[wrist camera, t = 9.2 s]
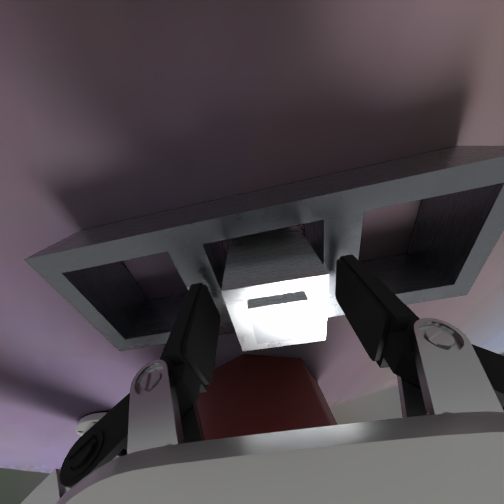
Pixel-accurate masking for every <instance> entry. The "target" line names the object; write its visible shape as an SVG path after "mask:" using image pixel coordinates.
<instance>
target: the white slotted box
mask: <svg viewBox="0 0 504 504" xmlns="http://www.w3.org/2000/svg"><path fill="white" fill-rule="evenodd" d="M328 290H329V273H328V271H327V270H326V268H325V267H324V265H323V264H322V262H321V261H320V259H319V258H318V256H317V254H316V253H315V251H314V250H313V248H312V247H311V245H310V244H309V242H308V241H307V239H306V238H305V236H304V235H303V233H302V232H301V230H300V228H299V227H298V225H294V226H290V227H285V228H280V229H275V230H270V231H265V232H260V233H255V234H251V235H246V236H241V237H236V238H231V239H230V242H229V247H228V253H227V259H226V265H225V271H224V277H223V283H222V289H221V292H222V295H223V298H224V301H225V304H226V306H227V309H228V312H229V315H230V317H231V320H232V323H233V326H234V328H235V331H236V334H237V337H238V340H239V342H240V345H241V348H242V351H250V350H257V349H265V348H272V347H279V346H287V345H294V344H302V343H309V342H317V341H324V340H326V327H327V309H328Z"/></svg>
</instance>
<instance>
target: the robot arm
mask: <svg viewBox="0 0 504 504" xmlns="http://www.w3.org/2000/svg"><path fill="white" fill-rule="evenodd" d="M335 297H336V300H337V302H338V304H339V306H340V307H341V309H342V311H343V312H344V314H345V316H346V318H347V319H348V321H349V323H350V324H351V326H352V328H353V329H354V331H355V333H356V335H357V336H358V338H359V340H360V341H361V343H362V345H363V347H364V348H365V350H366V352H367V353H368V355H369V357H370V358H371V359H372V360H373V361H376V362H377V364H378V365H379V367H380V368H384V367H390V368H391V370H392V372H393V373H394V374H396V375H397V380H398V387H399V394H400V402H401V409H402V417H403V418H396V419H388V420H379V421H369V422H360V423H351V424H342V425H333V426H324V427H315V428H307V429H298V430H289V431H281V432H272V433H263V434H255V435H247V436H238V437H230V438H222V439H213V440H205V436H204V432H203V428H202V424H201V420H200V416H199V412H198V408H197V403H196V401H197V400H198V396H199V393H202V392H207V390H208V384H211V382H212V376H213V369H214V362H215V355H216V348H217V341H218V334H219V327H220V314H219V312H218V310H217V308H216V305H215V303H214V301H213V299H212V297H211V294H210V292H209V290H208V288H207V286H206V284H204V285H203V283H196V284H192V285H191V286H190V289H189V291H188V294H187V296H186V299H185V301H184V304H183V307H182V309H181V310H180V311H179V313H178V315H177V318H176V320H175V323H174V325H173V328H172V330H171V333H170V335H169V338H168V340H167V343H166V345H165V348H164V350H163V353H162V355H161V358H160V359H158V360H153V361H151V362H149V363H147V364H146V365H145V366H143V367H142V368H141V369H140V370H139V371H138V373H137V374H136V376H135V377H134V379H133V381H132V383H131V388H130V393H129V394H128V395H127V396H126V397H125V398H123V399H122V400H121V401H120V402H119V403H118V404H117V405H116V406H114V407H113V408H112V409H111V410H110V411H109V412H102V413H94V414H90V415H87V416H85V417H83V418H81V419H80V421H79V422H78V424H77V426H76V428H75V430H76V432H77V433H78V434H79V435H80V436H81V437H80V438H79V439H78V440H77V441H76V443H75V444H74V445H73V447H72V448H71V449H70V451H69V453H68V454H67V456H66V458H65V460H64V462H63V465H62V467H61V468H60V469H55V470H54V471H53V472H52V473H51V474H50V475H49V476H48V477H47V478H46V479H45V480H44V481H43V482H42V483H41V484H40V485H39V486H38V487H37V488H36V489H35V490H34V491H33V492H32V493H31V494H30V495H29V496H28V497H27V498H26V499H25V500H24V501H23V502H22V503H21V504H504V356H502V355H499V354H497V353H494V352H491V351H489V350H486V349H483V348H480V347H478V346H475V345H472V344H471V342H470V340H469V339H468V338H467V336H466V335H465V334H464V333H463V332H462V331H461V330H459V329H458V328H456V327H455V326H453V325H451V324H449V323H447V322H445V321H442V320H438V319H434V318H422V319H419V318H418V317H417V316H416V315H415V314H414V313H413V312H412V311H411V310H410V309H409V308H408V307H407V306H406V305H405V304H404V303H403V302H402V301H401V300H400V299H399V298H398V297H397V296H396V295H395V294H394V293H393V292H392V291H391V290H390V289H389V288H388V287H387V286H386V285H385V284H384V283H383V282H382V281H381V280H380V279H379V278H378V277H376V276H373V275H372V274H371V273H370V272H369V271H368V270H367V269H366V268H365V267H364V266H363V265H362V264H361V263H360V262H359V261H358V259H357V258H356V257H355V256H354V255H352V254H350V255H345V256H341V257H340V259H338V260H337V262H336V286H335Z"/></svg>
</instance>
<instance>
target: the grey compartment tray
mask: <svg viewBox="0 0 504 504" xmlns="http://www.w3.org/2000/svg"><path fill="white" fill-rule="evenodd" d="M421 199H422V202H421V206H420V209H419V213H418V216H417V220H416V223H415V227H414V230H413V234H412V238H411V241H410V245H409V248H408V252H407V253H405V254H400V255H394V256H389V257H383V258H378V259H372V260H367V261H361V262H360V263H361V264H362V265H363V266H364V267H365V268H366V269H367V270H368V271H369V272H370V273H371V274H372V275H373V276H376V277H378V278H379V279H380V280H381V281H382V282H383V283H384V284H385V285H386V286H387V287H388V288H389V289H390V290H391V291H392V292H393V293H394V294H395V295H396V296H397V297H398V298H399V299H400V300H401V301H402V302H403V303H404V304H405V305H407V304H413V303H420V302H426V301H432V300H438V299H444V298H450V297H457V296H463V295H467V294H468V292H469V290H470V289H471V287H472V285H473V283H474V282H475V280H476V278H477V276H478V275H479V273H480V271H481V269H482V267H483V266H484V264H485V262H486V260H487V259H488V257H489V255H490V253H491V252H492V250H493V248H494V246H495V244H496V243H497V241H498V239H499V237H500V236H501V234H502V232H503V230H504V146H454V147H450V148H446V149H441V150H437V151H432V152H428V153H423V154H419V155H414V156H410V157H405V158H401V159H396V160H392V161H387V162H383V163H379V164H374V165H370V166H365V167H361V168H356V169H352V170H347V171H343V172H338V173H334V174H329V175H325V176H321V177H316V178H312V179H307V180H303V181H298V182H294V183H289V184H285V185H280V186H276V187H271V188H267V189H262V190H258V191H254V192H249V193H245V194H240V195H236V196H231V197H227V198H222V199H218V200H213V201H209V202H204V203H200V204H195V205H191V206H187V207H182V208H178V209H173V210H169V211H164V212H160V213H155V214H151V215H146V216H142V217H137V218H133V219H129V220H124V221H120V222H115V223H111V224H106V225H102V226H97V227H93V228H88V229H84V230H81V231H79V232H77V233H75V234H73V235H71V236H69V237H67V238H65V239H63V240H61V241H59V242H57V243H55V244H53V245H52V246H50V247H48V248H46V249H44V250H42V251H40V252H38V253H36V254H34V255H32V256H30V257H28V258H26V259H24V260H25V261H26V262H27V263H28V264H29V265H30V266H31V267H32V268H33V269H34V270H35V271H36V272H37V273H39V274H40V275H41V276H42V277H43V278H44V279H45V280H46V281H47V282H48V283H49V284H50V285H51V286H52V287H53V288H54V289H55V290H56V291H57V292H58V293H59V294H60V295H62V296H63V297H64V298H65V299H66V300H67V301H68V302H69V303H70V304H71V305H72V306H73V307H74V308H75V309H76V310H77V311H78V312H79V313H80V314H81V315H82V316H83V317H85V318H86V319H87V320H88V321H89V322H90V323H91V324H92V325H93V326H94V327H95V328H96V329H97V330H98V331H99V332H100V333H101V334H102V335H103V336H104V337H105V338H106V339H107V340H109V341H110V342H111V343H112V344H113V345H114V346H115V347H116V348H117V349H118V350H119V351H123V350H130V349H136V348H142V347H148V346H154V345H160V344H166V343H167V340H168V338H169V335H170V333H171V330H172V328H173V325H174V323H175V320H176V318H177V315H178V313H179V311H180V310H181V309H182V307H183V304H184V301H185V299H186V296H187V294H188V293H187V294H182V295H176V296H171V297H165V298H160V299H155V300H149V299H148V298H147V296H146V295H145V294H144V292H143V291H142V289H141V288H140V286H139V285H138V284H137V282H136V281H135V279H134V278H133V277H132V275H131V274H130V272H129V271H128V270H127V268H126V267H125V265H124V264H123V263H122V261H124V260H129V259H133V258H138V257H143V256H148V255H153V254H158V253H163V252H168V253H169V255H170V257H171V259H172V261H173V263H174V265H175V267H176V268H177V270H178V272H179V274H180V276H181V278H182V280H183V282H184V284H185V285H186V287H187V289H188V291H189V289H190V286H191V285H192V284H196V283H203V285H204V284H206V286H207V288H208V290H209V292H210V294H211V297H212V299H213V301H214V303H215V305H216V308H217V310H218V312H219V314H220V327H219V334H218V335H222V334H228V333H234V332H236V331H235V328H234V326H233V323H232V320H231V317H230V315H229V312H228V309H227V306H226V304H225V301H224V298H223V295H222V292H221V289H222V283H223V277H224V271H225V265H226V259H227V257H226V254H225V251H224V248H223V245H222V242H221V240H226V239H231V238H236V237H241V236H246V235H251V234H255V233H260V232H265V231H270V230H275V229H280V228H285V227H290V226H294V225H299V224H304V232H305V238H306V239H307V241H308V242H309V244H310V245H311V247H312V248H313V250H314V251H315V253H316V254H317V256H318V258H319V259H320V261H321V262H322V264H323V265H324V267H325V268H326V270H327V271H328V273H329V290H328V309H327V317H333V316H339V315H345V314H344V312H343V311H342V309H341V307H340V306H339V304H338V302H337V300H336V297H335V286H336V262H337V260H338V259H340V257H341V256H345V255H350V254H352V255H354V256H355V257H356V258H357V259H358V258H359V250H360V242H361V233H362V225H363V216H364V211H368V210H373V209H377V208H382V207H387V206H392V205H397V204H402V203H407V202H412V201H416V200H421Z"/></svg>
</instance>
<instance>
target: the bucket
mask: <svg viewBox="0 0 504 504" xmlns="http://www.w3.org/2000/svg"><path fill="white" fill-rule="evenodd" d="M196 403H197V408H198V412H199V416H200V420H201V424H202V428H203V432H204V436H205V440H213V439H222V438H230V437H238V436H247V435H255V434H263V433H272V432H281V431H289V430H298V429H307V428H315V427H324V426H333V425H337V423H336V421H335V418H334V416H333V414H332V412H331V410H330V408H329V406H328V404H327V402H326V399H325V397H324V395H323V393H322V391H321V389H320V387H319V385H318V383H317V381H316V380H315V378H314V377H313V375H312V374H311V373H310V371H309V370H308V368H307V367H306V365H305V364H304V363H303V361H302V360H301V359H300V358H287V357H275V356H262V355H250V354H243V355H241V356H239V357H237V358H235V359H233V360H232V361H230V362H228V363H226V364H224V365H222V366H220V367H218V368H216V369H214V370H213V376H212V382H211V384H208V390H207V392H202V393H199V396H198V400H197V401H196Z"/></svg>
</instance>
